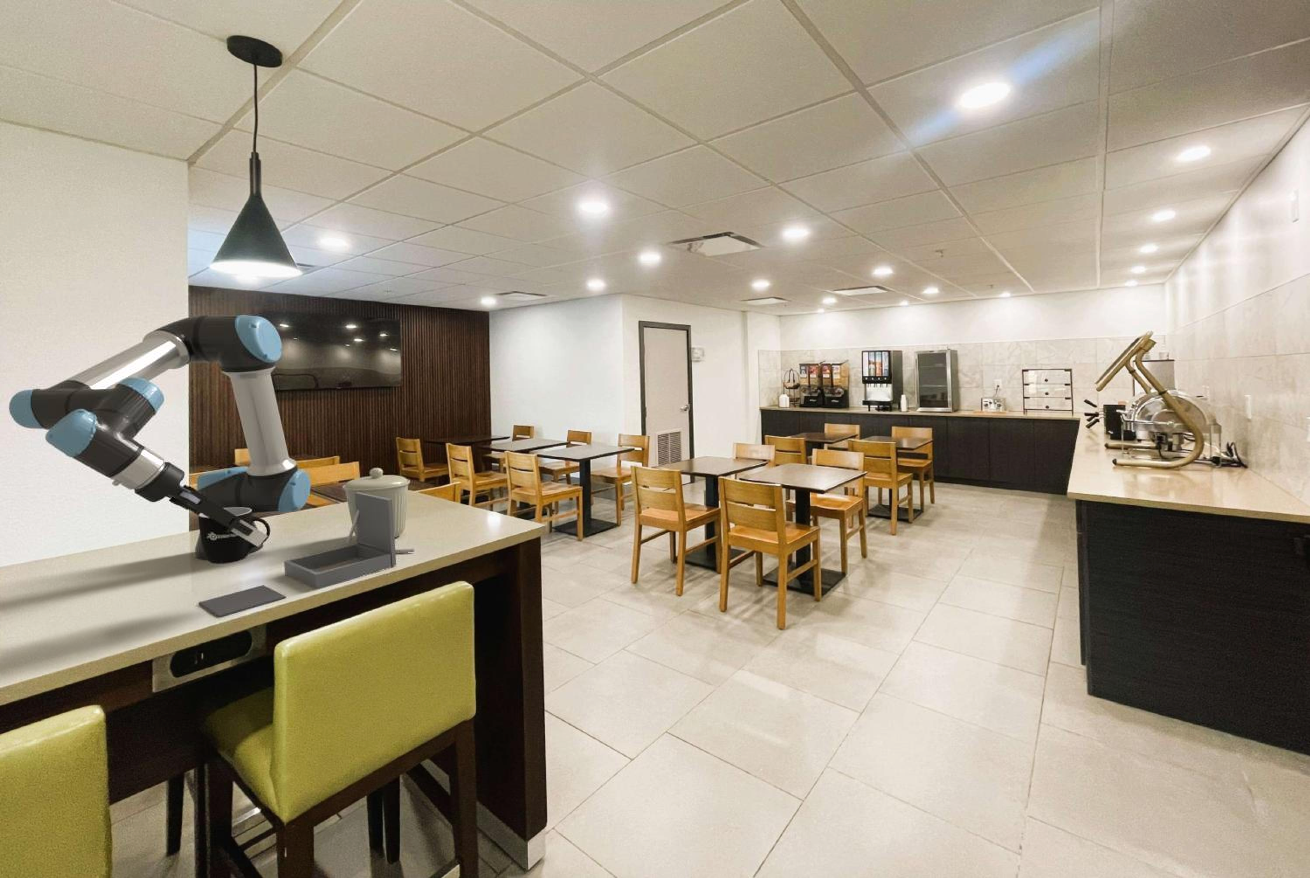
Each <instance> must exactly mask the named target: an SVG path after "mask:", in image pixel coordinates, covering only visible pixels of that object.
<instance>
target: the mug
mask: <svg viewBox="0 0 1310 878" xmlns="http://www.w3.org/2000/svg"><path fill="white" fill-rule="evenodd" d="M224 509H225V510H227V511H229V512H230V513H232V514H234V515H236V516H238V517H240V518H241V520H243V521H244V522H246V523H248V524H249V525H251V526H252V524H253V522H254V523H255V522H259V523H261V524H263V525H264V527H265V529H266V533H265V534H266V535H267V538H266V539H265V540H264V541H263V542H262V543H261V544H263V545H264V543H265V542H266V541H267V540H268V539H269V537H270V535H271V526H270V524H269V522H267V521H266V520H265V519H264V518H262V517H261V518H260V517H258V516H254V514H253V515H252V510H251V509H250V508H243V507H233V508H224ZM197 516H198V519H197V520H198V528H199V533H200V536H201V541H202V546H203V549H204V553H205V555H206V558H207V559H206V560H207V561H208V562H209V563H210V564H213V565H214V564H216V565H217V564H219V565H220V564H221V565H223V564H231V563H237V562H239V561H243V560H245V559H246V558H247V556H248V555H249V554H250V553H249V551H250V550H251V549H252V548H254V547H257V546H256V545H254V544H252V543H251V542H249V541H247V540H246V539H244V538H242V537H240V536H239V535H237V534H235V533H234V532H232V531H230V532H229V533H228V532H226V530H227V529H228V528H227V527H225V526H224V525H222V524H220V523H218V522H216V521H214V520H213V519H211V518H209V517H207V516H205V515H204V514H202V513H200V514H199V515H197ZM232 520H233V519H232ZM232 520H231V521H232ZM231 521H230V522H231ZM230 522H229V523H230ZM261 544H260V545H261Z"/></svg>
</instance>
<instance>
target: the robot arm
mask: <svg viewBox="0 0 1310 878" xmlns="http://www.w3.org/2000/svg"><path fill="white" fill-rule="evenodd" d="M282 350H283V343H282V340H281V337H280V334H279V332H278V330H277V329H276V327H275V326H274V324H272V323H271V321H269V320H268V319H266V318H264V317H262V316H259V315H256V316H255V315H247V314H241V315H240V314H232V315H230V314H229V315H205V314H204V315H194V316H193V315H192V316H189V317H185V318H182V319H179V320H176V321H172V322H170V323H168V324H165V325H163V326H161V327H159V328H156V329H154V330H152V331H150V332H148V333H146V335H144V337H143V338H142V341H141V342H139V343H137V344H135V345H133V346H132V347H129V348H127V349H125V350H122V351H121V352H119V353H117V354H115V355H113V356H111V357H109V358H107V359H105V360H103V361H101V362H99V363H97V364H95V365H92V366H91V367H89V368H87V369H85V370H82V371H81V372H78V373H77V374H75V375H73V376H71V377H69V378H67V379H64V380H63V381H61V382H58V383H57V384H54V385H52V386H50V387H47V388H42V389H41V388H33V389H23V390H21V391H18V392H17V393H15V394H14V395H13V396H12V397H11V399H10V401H9V405H8V412H9V414H10V415H11V418H12V419H13V420H14V422H15V423H16V424H18V425H19V426H21V427H22V428H23V427H24V428H27V429H33V430H35V429H37V430H41V429H42V430H46V431H47V430H48V431H47V432H46V434H45V441H46V442H47V443H48V444H49V445H51V446H52V447H54V449H56V450H58V451H60V452H62V453H63V454H64V455H65V456H66V457H69V458H72V459H73V460H75V461H77V462H79V463H81V464H83V465H84V466H86V467H88V468H90V469H92V470H93V471H95V472H97V473H99V474H101V475H103V476H105V477H107V478H109V479H110V480H113V481H112V482H111V484H112V486H113V487H118V486H119V485H121V486H122V487H124V488H126V489H127V490H134V493H135V494H136V495H137V496H139V497H142V498H143V499H145V500H146V501H148V502H150V503H157V502H160V501H161V500H163V499H165V498H168V501H169V502H170V503H171V504H174V505H176V506H179V507H181V508H183V509H185V510H186V511H190V512H192V513H194V514H195V515H197V516H198V515H199V514H200V513H202V514H204V515H205V516H207V517H209V518H211V519H213V520H214V521H216V522H218V523H220V524H222V525H224V526H225V527H227V528H228V529H227V530H226V532H228V533H229V532H230V531H232V532H234V533H235V534H237V535H239V536H240V537H242V538H244V539H246V540H247V541H249V542H251V543H252V544H254V545H256V546H257V547H254V548H252V549H251V550H250V551H249V553H248V554H251V553H254V552H257V551H259V550H261V549H262V548H263V547H264V543H263V544H261V543H262V542H263V541H264V540H265V539H266V538H267V535H266V533H264V532H263V531H261V530H259V528H258V527H257V525H256V522H255V521H254V522H253V524H252V526H251V525H249V524H248V523H246V522H244V521H243V520H241V518H240V517H238V516H236V515H234V514H232V513H230V512H229V511H227V510H225V509H224V508H233V507H243V508H250V509H251V510H252V515H253V516H254V514H255V515H257V514H286V513H294V512H295V513H296V512H298V511H300V510H302V508H303V507H304V506H305V505H306V503H307V501H308V499H309V496H310V492H311V478H310V475H309V473H308V472H307V471H305V470H302V469H299V467H298V463H297V461H296V460H295V459H293V458H290V456H289V452H288V447H287V443H286V442H287V441H286V439H285V433H284V430H283V425H282V420H281V415H280V411H279V406H278V401H277V398H276V394H275V393H276V392H275V389H274V384H273V380H272V376H271V375H272V374H271V373H272V372H273V371H274V369H275V368H276V362H277V361H279V360H280V359H281V356H282ZM196 363H218V364H219V367H220V372H221V373H222V374H224V375H226V376H227V377H229V378H230V382H231V387H232V390H233V394H234V399H235V403H236V406H237V411H238V415H239V418H240V423H241V427H242V430H243V434H244V435H243V436H244V439H245V443H246V447H247V452H248V456H249V460H250V465H249V466H246V465H244V466H242V465H241V466H236V467H229V468H223V469H222V468H221V469H217V470H213V471H208V472H204V473H202V474H201V473H200V475H198V476H197V478H196V489H195V488H194V487H192V486H190V485H187V484H184V485H181V482H182V481H183V479H184V478H185V473H186V472H185V471H184V470H182V469H181V468H179V466H178V467H177V466H176V465H174V464H173V463H171V462H169V461H165V458H164V457H162V456H161V455H159V454H158V453H156V452H154V451H153V450H151V449H150V448H148V447H146V446H145V445H143V444H141V443H139V442H138V441H137V440H135V439H134V438H135V437H136V436H137V435H138V433H140V431H141V430H142V429H143V428H144V427H145V426H146V425H147V424H148V423H149V422H150V420H151V419H152V418H153V417H155V416H156V414H157V413H158V411H159V409H160V408H161V407H162V405H163V404H164V402H165V395H164V393H163V392H162V390H161V389H160V388H159V387H158V386H157V385H156V384H155V383H153V382H151V380H153V379H155V378H156V377H158V376H160V375H162V374H164V373H165V372H167V371H168V370H178V369H181V368H183V367H185V366H187V365H189V364H191V365H192V364H196ZM232 519H233V520H232ZM231 520H232V521H231ZM230 521H231V522H230ZM229 522H230V523H229ZM260 544H261V545H260ZM194 550H195V553H194V554H195V558H196V559H200V560H201V559H202V560H208V559H207V558H206V555H205V553H204V549H203V546H202V541H201V536H200V532H199V534H198V538H197V541H196V544H195V547H194Z"/></svg>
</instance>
